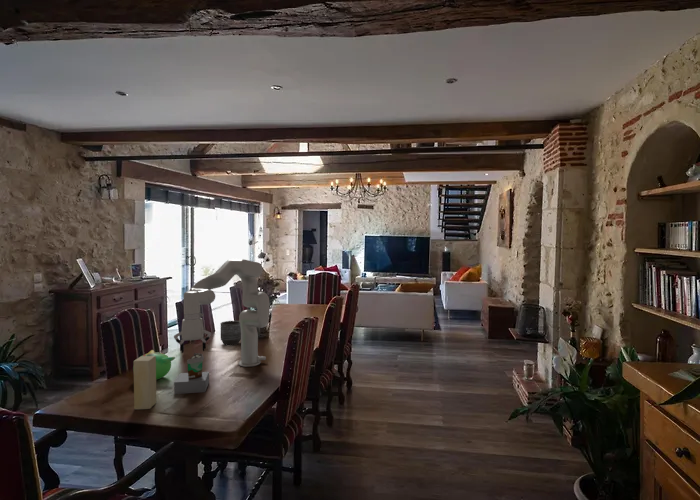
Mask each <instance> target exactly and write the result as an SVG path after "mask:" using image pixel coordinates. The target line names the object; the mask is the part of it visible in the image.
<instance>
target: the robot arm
mask: <svg viewBox="0 0 700 500" xmlns="http://www.w3.org/2000/svg"><path fill="white" fill-rule="evenodd" d="M263 271H264V270H263V266H262V264H261V263H260V262H257V261H252V260H248V259H244V258H241V259H240V258H230V259H227V260H226V261H225V262H224V263H223V264H222V265H221V266H220V267H218V269H217V270H216V271H214V272H213V274H211V275H208V276H206V277H204V278H202V279H200V280H199V281H197V282H195V284H194V285H193V286H191V288H189V289H188V291H184V293H183V319H182V320H181V321H182V322H181V331H179V332H178V333H176V334H174V335H173V338H174V340H175V342H176V343H177V344H178V345H179V350H180V352H181V353H182V354H183V353H184V350H185V348H184V347H185V346H184V342H185V341H187V342H188V341H197V340H198V341H199V340H201V341H202V351H203V352H204V351H205V350H206V347H207V345H206V343H207V342H208V341H209V339H210V338H211V336H212V332H210V331H208V330H205V327H204V321H203V318H202V317H204V313H201V305H210V304H212V303H213V302H214V301H215V300H216V293H215V291H213V290H214V289H218V288H221V287H224V286H226V285H227V284H228V283H229V282H230V281H231V280H232V278H234V277H235V276H236V275H237V277H239V279H240V280H241V281H240V282H241V283H242V306H243V307H245V308H251V309H245V310H242V311H241V312H240V313H239V316H238V318H239V319H238V321H239V322H240V327H241V340H240V360H239V361H238V363H237V364H238V366H240V367H244V368H245V367H246V368H248V367H250V368H251V367H256V366H259V365H261V361H266V359H267V356H263V355H259V351H258V349H259V348H258V347H259V346H258V344H259V337H258V336H259V335H258V334H259V333H258V330H257V328H260V329H261V328H265V327H267V325H268V324H269V317H270V298H269V295H268V294H267V293H266V292H263V291H258V280H257V278H259V277H260V276H261V275H262V274H263ZM255 309H257V310H255ZM205 334H206V335H207V336H206V337H204V335H205ZM179 336H180V337H181V339H180V338H178V337H179Z"/></svg>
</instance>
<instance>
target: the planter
mask: <svg viewBox="0 0 700 500" xmlns="http://www.w3.org/2000/svg"><path fill="white" fill-rule="evenodd" d="M220 341H221V342H222V343H223V345H224V346H227V345H232V346H236V344H237V345H238V344H240V343H241V327H240V322H239V320H227V321H222V322H220Z"/></svg>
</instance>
